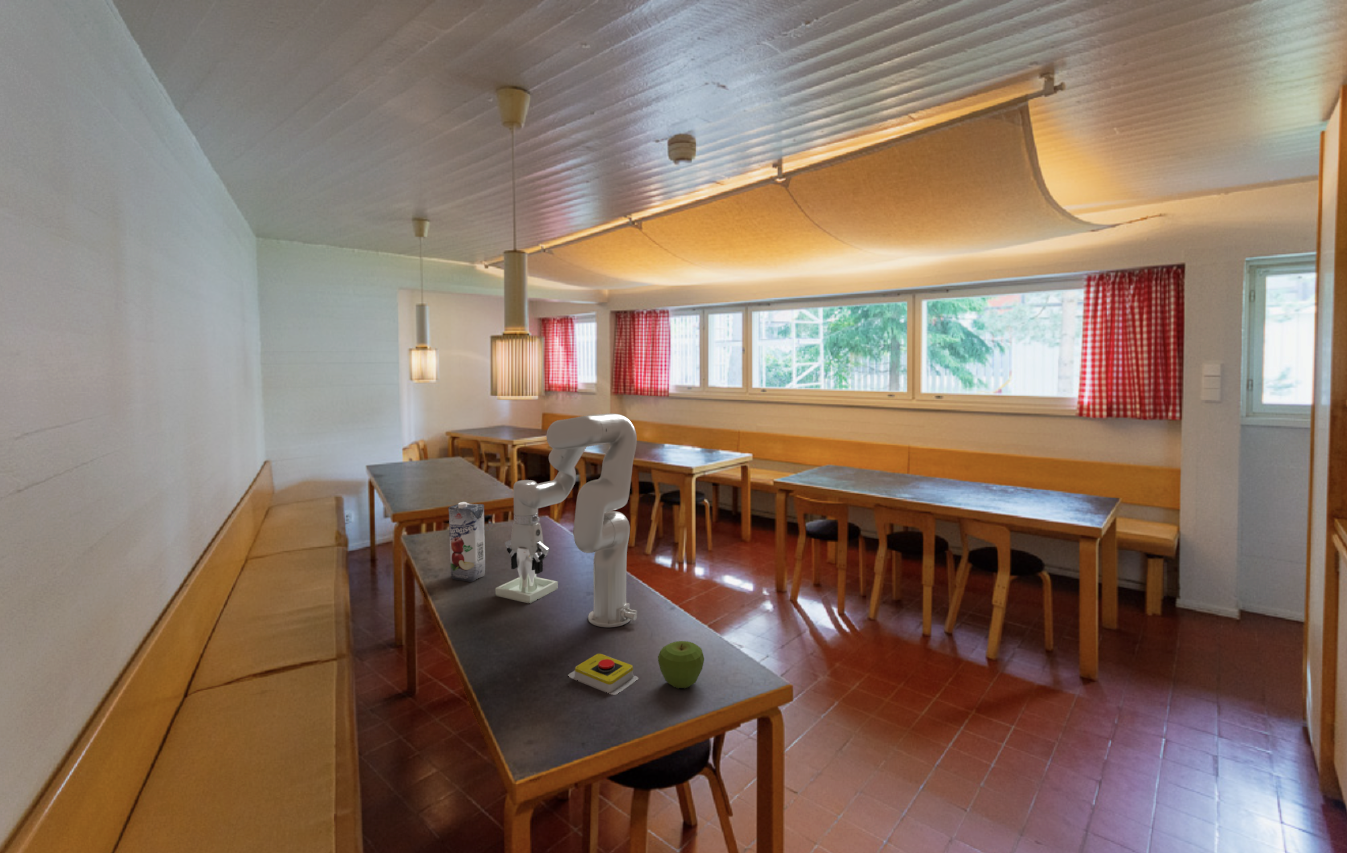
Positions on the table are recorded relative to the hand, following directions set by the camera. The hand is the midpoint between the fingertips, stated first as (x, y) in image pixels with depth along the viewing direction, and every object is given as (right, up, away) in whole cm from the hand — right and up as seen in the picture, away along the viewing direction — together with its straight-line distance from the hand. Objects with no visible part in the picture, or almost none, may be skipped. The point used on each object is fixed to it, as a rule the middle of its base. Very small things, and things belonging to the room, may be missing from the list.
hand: (526, 570), depth 191 cm
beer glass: (0, -7, +1) cm, 7 cm away
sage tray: (0, -7, +1) cm, 7 cm away
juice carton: (-24, -6, +14) cm, 28 cm away
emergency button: (+31, -13, -52) cm, 62 cm away
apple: (+49, -13, -55) cm, 75 cm away
